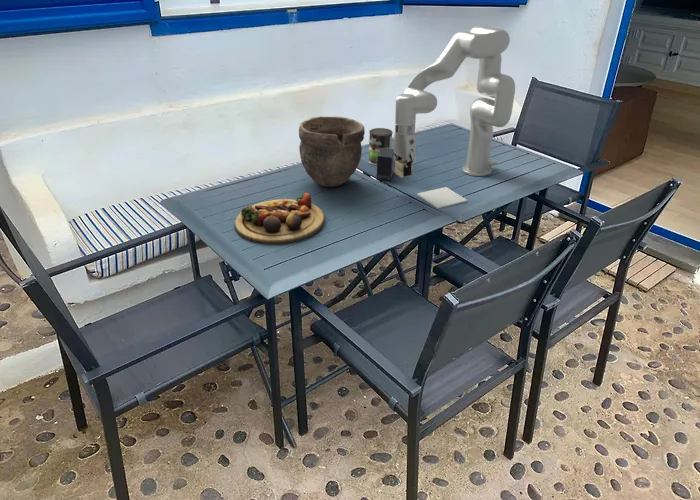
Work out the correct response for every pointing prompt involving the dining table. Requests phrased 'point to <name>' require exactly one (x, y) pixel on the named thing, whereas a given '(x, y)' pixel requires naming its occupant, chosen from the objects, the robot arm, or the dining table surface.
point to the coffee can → (378, 142)
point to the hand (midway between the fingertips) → (403, 172)
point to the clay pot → (330, 148)
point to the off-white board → (442, 197)
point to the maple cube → (400, 167)
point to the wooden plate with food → (280, 220)
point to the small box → (385, 164)
